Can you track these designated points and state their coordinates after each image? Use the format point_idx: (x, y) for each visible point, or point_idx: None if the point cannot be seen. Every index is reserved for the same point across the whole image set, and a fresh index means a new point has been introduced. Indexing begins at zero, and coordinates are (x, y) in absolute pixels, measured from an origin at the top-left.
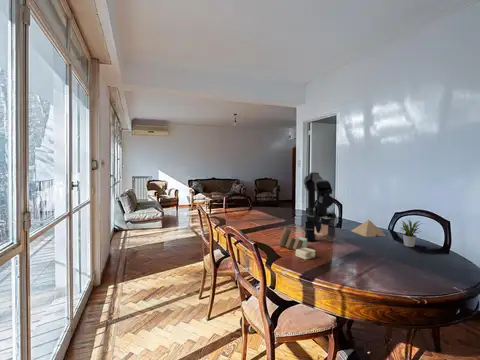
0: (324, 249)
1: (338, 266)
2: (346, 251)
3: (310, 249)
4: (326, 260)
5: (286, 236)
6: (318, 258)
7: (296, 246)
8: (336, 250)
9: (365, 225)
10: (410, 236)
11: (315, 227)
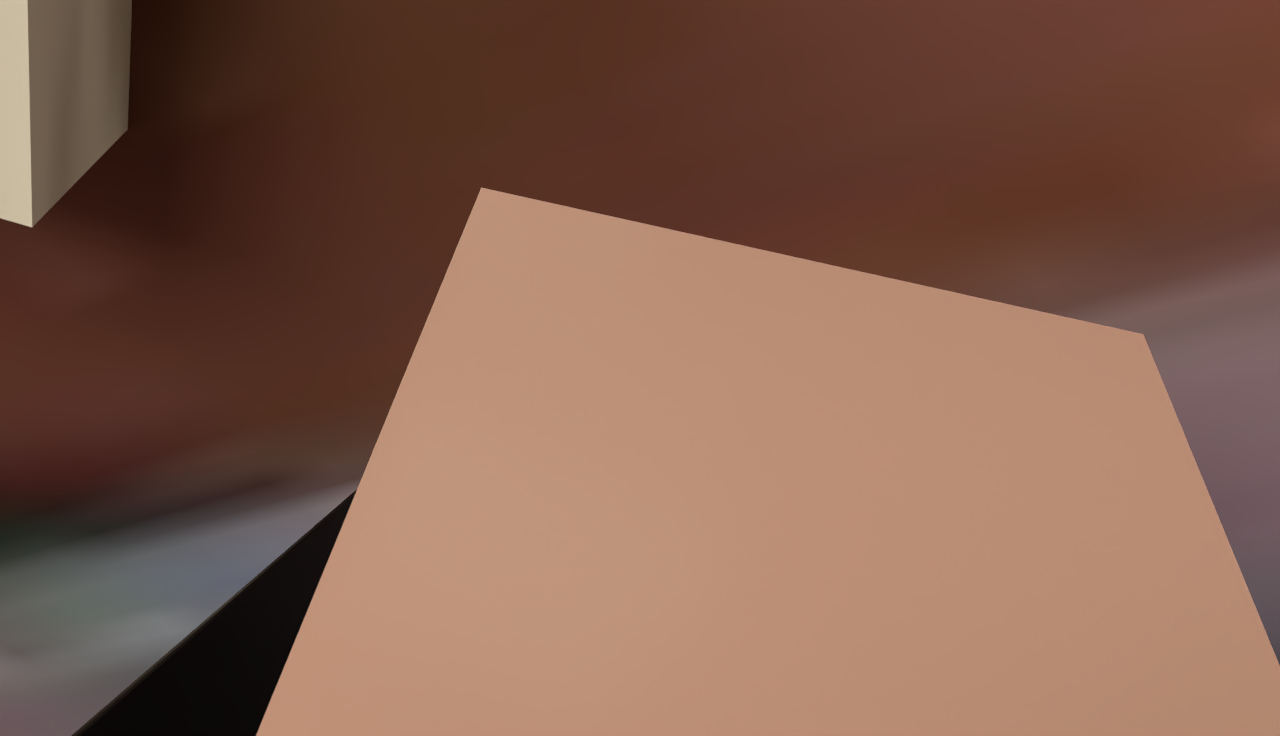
0: (1137, 46)
1: (88, 668)
2: (1262, 574)
3: (17, 27)
4: (176, 430)
5: None
6: (122, 244)
7: None
8: (1225, 371)
9: None
10: None
11: (76, 731)
